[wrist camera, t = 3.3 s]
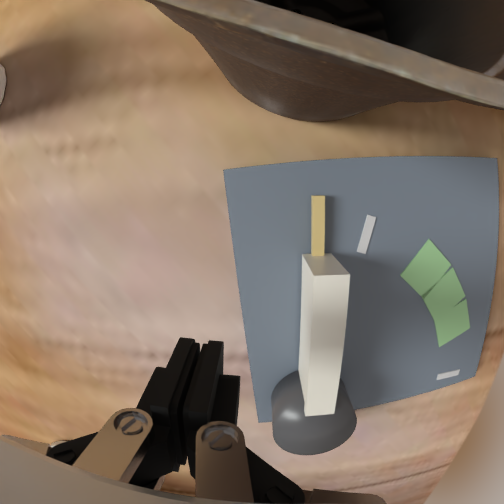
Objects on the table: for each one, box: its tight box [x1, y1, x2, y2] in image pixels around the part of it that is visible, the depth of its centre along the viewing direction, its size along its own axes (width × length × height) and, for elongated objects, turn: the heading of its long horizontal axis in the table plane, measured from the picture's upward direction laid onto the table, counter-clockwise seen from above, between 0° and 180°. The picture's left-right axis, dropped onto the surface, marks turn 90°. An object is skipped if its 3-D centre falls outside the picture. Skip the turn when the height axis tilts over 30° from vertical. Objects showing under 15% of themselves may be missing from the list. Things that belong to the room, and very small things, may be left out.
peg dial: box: [271, 195, 357, 455], centre depth 18 cm, size 17×6×4 cm, turn 2°
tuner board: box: [223, 156, 499, 423], centre depth 20 cm, size 19×20×1 cm
